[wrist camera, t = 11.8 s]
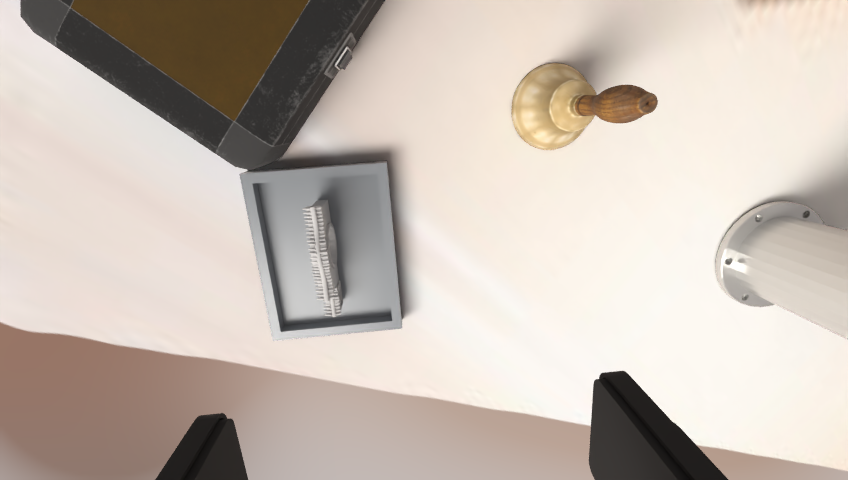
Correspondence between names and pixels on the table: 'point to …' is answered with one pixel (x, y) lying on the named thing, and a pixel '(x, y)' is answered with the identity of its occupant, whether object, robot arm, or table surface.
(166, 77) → the cash box
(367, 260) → the tray
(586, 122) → the hand bell
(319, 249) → the white toothed rack
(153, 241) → the table surface
